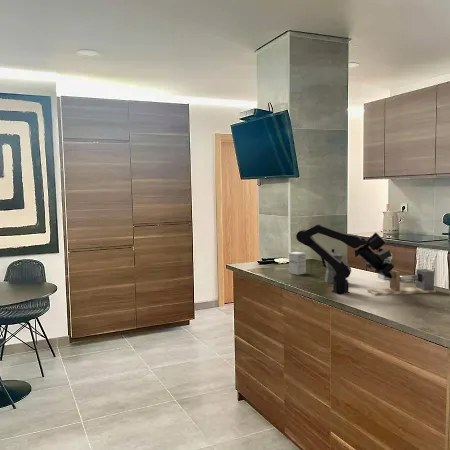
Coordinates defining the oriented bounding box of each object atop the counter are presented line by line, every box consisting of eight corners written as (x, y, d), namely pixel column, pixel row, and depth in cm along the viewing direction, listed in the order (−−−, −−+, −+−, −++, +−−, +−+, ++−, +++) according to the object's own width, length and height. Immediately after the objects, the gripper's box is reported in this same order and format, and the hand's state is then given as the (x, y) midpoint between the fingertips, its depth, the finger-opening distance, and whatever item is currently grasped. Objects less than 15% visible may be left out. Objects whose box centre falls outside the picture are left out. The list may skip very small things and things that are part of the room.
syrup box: (383, 279, 245) (383, 253, 244) (377, 277, 251) (377, 252, 250) (392, 278, 247) (392, 252, 245) (386, 276, 252) (386, 251, 251)
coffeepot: (348, 282, 240) (348, 249, 239) (336, 285, 235) (336, 251, 233) (327, 278, 253) (327, 246, 251) (315, 280, 248) (315, 248, 246)
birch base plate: (374, 295, 211) (374, 293, 211) (367, 291, 219) (367, 289, 219) (435, 292, 214) (435, 290, 214) (426, 288, 222) (426, 286, 222)
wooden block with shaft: (395, 290, 213) (396, 272, 212) (389, 287, 219) (389, 269, 218) (419, 289, 214) (419, 271, 213) (412, 286, 220) (413, 268, 219)
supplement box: (288, 273, 269) (288, 252, 268) (297, 271, 274) (297, 251, 273) (297, 275, 263) (297, 254, 262) (306, 273, 268) (306, 252, 267)
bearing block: (424, 290, 214) (424, 272, 213) (416, 287, 221) (416, 269, 220) (433, 290, 215) (434, 271, 214) (425, 286, 221) (425, 269, 221)
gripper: (389, 246, 204) (412, 268, 206) (372, 241, 222) (393, 262, 224) (373, 264, 204) (396, 286, 206) (357, 258, 222) (378, 278, 224)
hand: (391, 277), depth 215 cm, fingers closed
